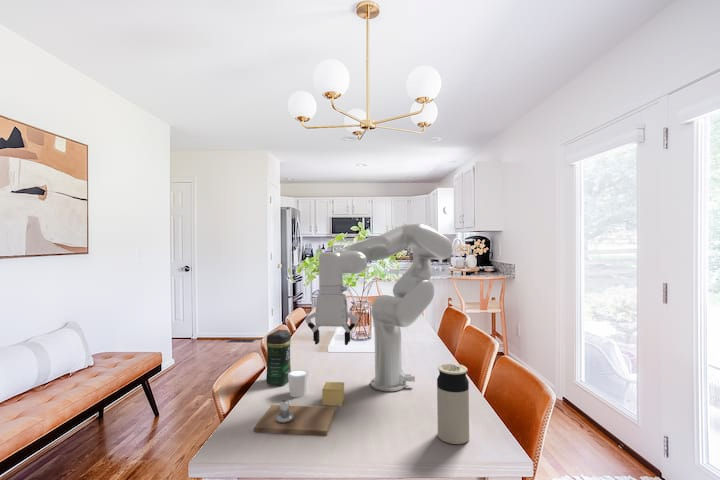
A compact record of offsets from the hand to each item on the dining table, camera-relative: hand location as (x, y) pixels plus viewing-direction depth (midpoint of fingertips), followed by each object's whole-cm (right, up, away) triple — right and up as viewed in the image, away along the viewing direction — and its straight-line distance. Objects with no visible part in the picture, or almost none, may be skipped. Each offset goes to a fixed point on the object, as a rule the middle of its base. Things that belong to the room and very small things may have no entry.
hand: (331, 343), depth 120 cm
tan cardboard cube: (+1, -18, 0) cm, 18 cm away
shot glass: (-12, -19, +6) cm, 23 cm away
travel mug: (+33, -18, -23) cm, 44 cm away
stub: (-12, -17, -15) cm, 26 cm away
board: (-9, -18, -13) cm, 24 cm away
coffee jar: (-21, -19, +17) cm, 33 cm away
